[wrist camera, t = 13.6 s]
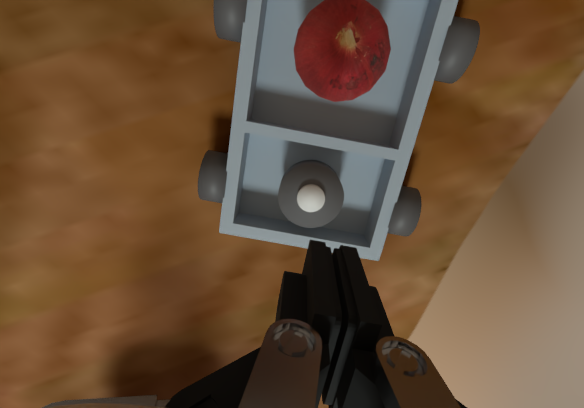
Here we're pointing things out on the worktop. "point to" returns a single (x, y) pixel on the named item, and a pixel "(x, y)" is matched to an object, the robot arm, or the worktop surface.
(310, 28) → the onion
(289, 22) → the chassis
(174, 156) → the worktop surface
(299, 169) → the spare wheel
